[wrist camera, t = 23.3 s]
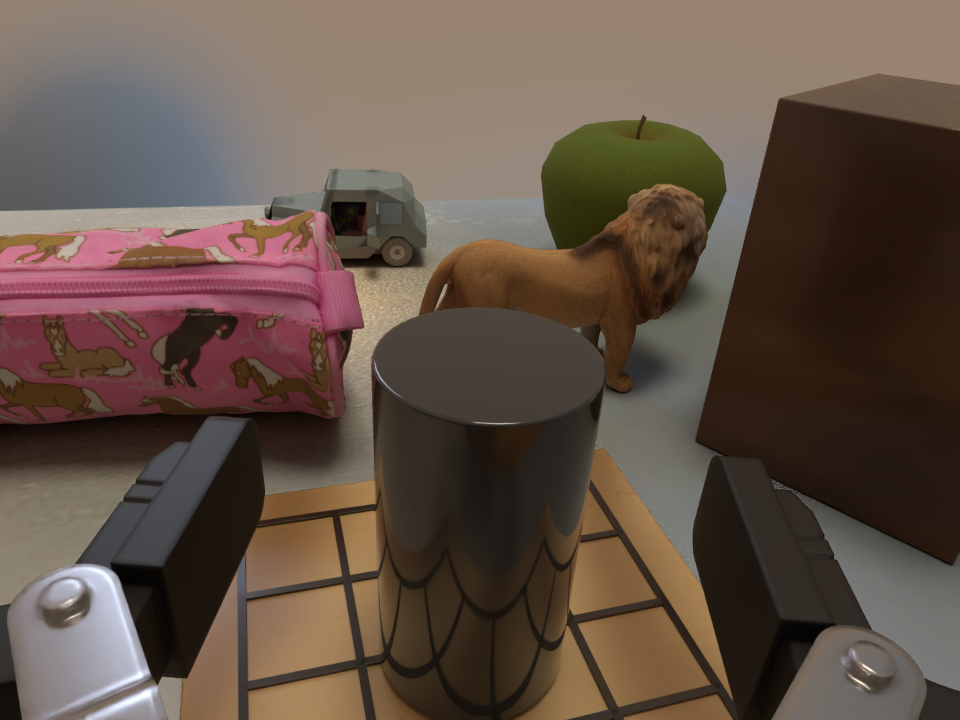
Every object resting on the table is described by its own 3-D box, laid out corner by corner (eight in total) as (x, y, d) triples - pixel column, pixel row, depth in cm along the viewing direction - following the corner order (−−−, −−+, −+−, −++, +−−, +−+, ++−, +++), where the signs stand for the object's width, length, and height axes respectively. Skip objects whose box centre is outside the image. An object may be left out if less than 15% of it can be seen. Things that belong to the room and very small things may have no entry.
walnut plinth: (1012, 447, 32) (1181, 117, 25) (952, 566, 26) (1159, 164, 19) (789, 361, 38) (877, 73, 31) (694, 440, 31) (778, 97, 24)
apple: (571, 236, 52) (588, 89, 47) (719, 270, 48) (756, 113, 43) (502, 288, 44) (514, 116, 39) (675, 335, 40) (713, 149, 35)
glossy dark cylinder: (597, 641, 20) (652, 361, 16) (474, 767, 17) (499, 459, 13) (467, 547, 23) (482, 288, 19) (340, 640, 20) (322, 352, 15)
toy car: (270, 241, 48) (262, 167, 46) (422, 242, 50) (423, 170, 47) (256, 281, 43) (248, 200, 40) (428, 281, 44) (429, 202, 42)
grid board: (600, 472, 29) (605, 444, 28) (873, 879, 17) (892, 848, 16) (199, 531, 25) (193, 501, 24) (164, 1124, 13) (151, 1096, 12)
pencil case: (-275, 513, 25) (-424, 269, 20) (-128, 371, 32) (-211, 173, 28) (369, 472, 28) (362, 257, 24) (362, 353, 36) (356, 175, 32)
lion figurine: (649, 334, 40) (680, 168, 35) (702, 385, 35) (746, 203, 31) (378, 362, 36) (375, 178, 31) (401, 424, 31) (401, 220, 27)
